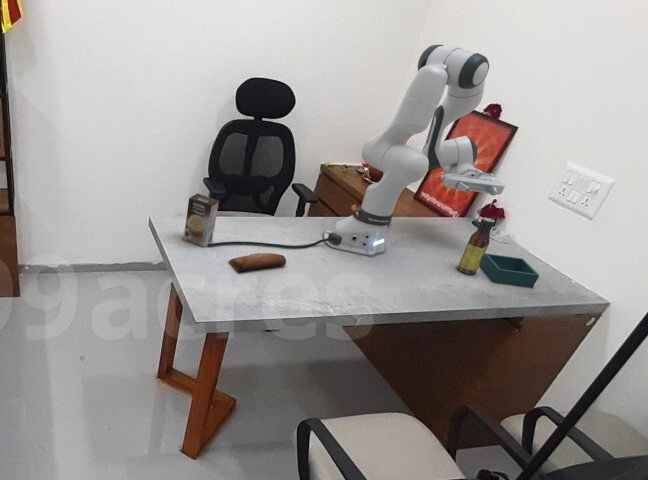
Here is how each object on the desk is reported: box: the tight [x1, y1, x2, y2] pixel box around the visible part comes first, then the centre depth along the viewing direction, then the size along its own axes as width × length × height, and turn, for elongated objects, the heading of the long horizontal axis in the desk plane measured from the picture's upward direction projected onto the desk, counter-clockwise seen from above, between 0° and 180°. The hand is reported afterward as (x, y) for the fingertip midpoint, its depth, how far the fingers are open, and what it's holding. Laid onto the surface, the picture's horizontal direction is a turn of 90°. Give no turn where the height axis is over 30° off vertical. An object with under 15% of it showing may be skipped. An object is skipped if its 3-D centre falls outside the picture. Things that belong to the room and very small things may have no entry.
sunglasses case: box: [229, 252, 287, 273], centre depth 174 cm, size 18×7×7 cm, turn 113°
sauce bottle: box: [457, 217, 496, 275], centre depth 181 cm, size 7×6×20 cm
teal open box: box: [479, 252, 540, 289], centre depth 184 cm, size 14×13×5 cm
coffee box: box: [183, 193, 220, 248], centre depth 182 cm, size 9×6×16 cm
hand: (480, 191), depth 183 cm, fingers open, 8 cm apart
